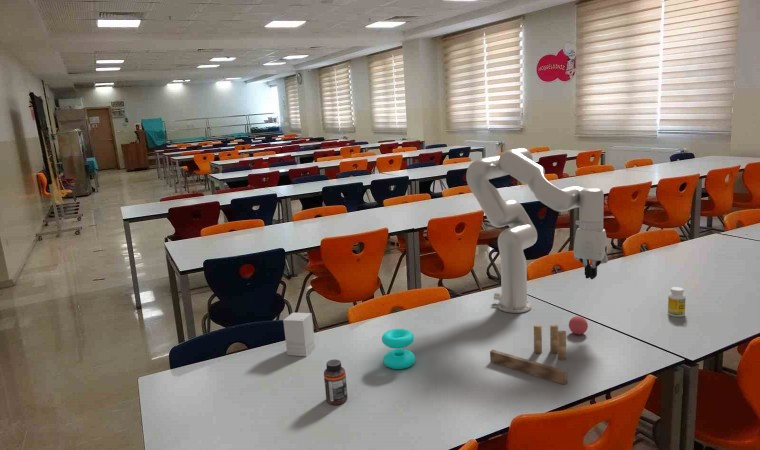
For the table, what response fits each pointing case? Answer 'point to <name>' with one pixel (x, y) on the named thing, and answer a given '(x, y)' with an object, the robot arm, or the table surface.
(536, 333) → the left back pin
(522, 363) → the back wall
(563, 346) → the right back pin
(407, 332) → the donuts
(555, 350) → the front pin
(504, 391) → the table surface
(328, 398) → the supplement bottle
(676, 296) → the supplement bottle
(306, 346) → the supplement box
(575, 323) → the ball
